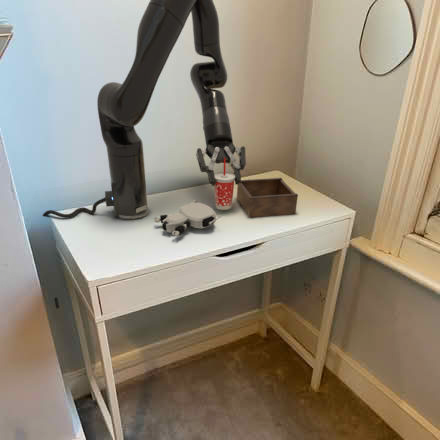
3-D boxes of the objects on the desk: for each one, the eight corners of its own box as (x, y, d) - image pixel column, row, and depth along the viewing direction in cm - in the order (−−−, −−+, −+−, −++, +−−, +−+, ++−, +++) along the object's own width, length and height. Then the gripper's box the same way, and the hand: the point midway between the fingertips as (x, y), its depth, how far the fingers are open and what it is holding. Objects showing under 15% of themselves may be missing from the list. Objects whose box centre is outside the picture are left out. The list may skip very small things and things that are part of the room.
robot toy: (176, 246, 109) (224, 228, 115) (174, 230, 106) (223, 212, 113) (152, 228, 117) (198, 211, 124) (150, 213, 114) (197, 197, 121)
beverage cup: (210, 203, 127) (210, 155, 118) (230, 201, 128) (231, 153, 120) (216, 211, 122) (217, 162, 114) (237, 209, 123) (239, 160, 115)
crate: (249, 217, 122) (250, 198, 119) (236, 198, 133) (237, 180, 130) (295, 214, 125) (298, 194, 121) (279, 195, 136) (281, 177, 132)
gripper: (193, 121, 117) (201, 179, 114) (244, 119, 120) (254, 176, 117) (190, 136, 124) (198, 191, 122) (238, 134, 127) (247, 188, 124)
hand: (225, 184), depth 119 cm, fingers closed on beverage cup, 6 cm apart
